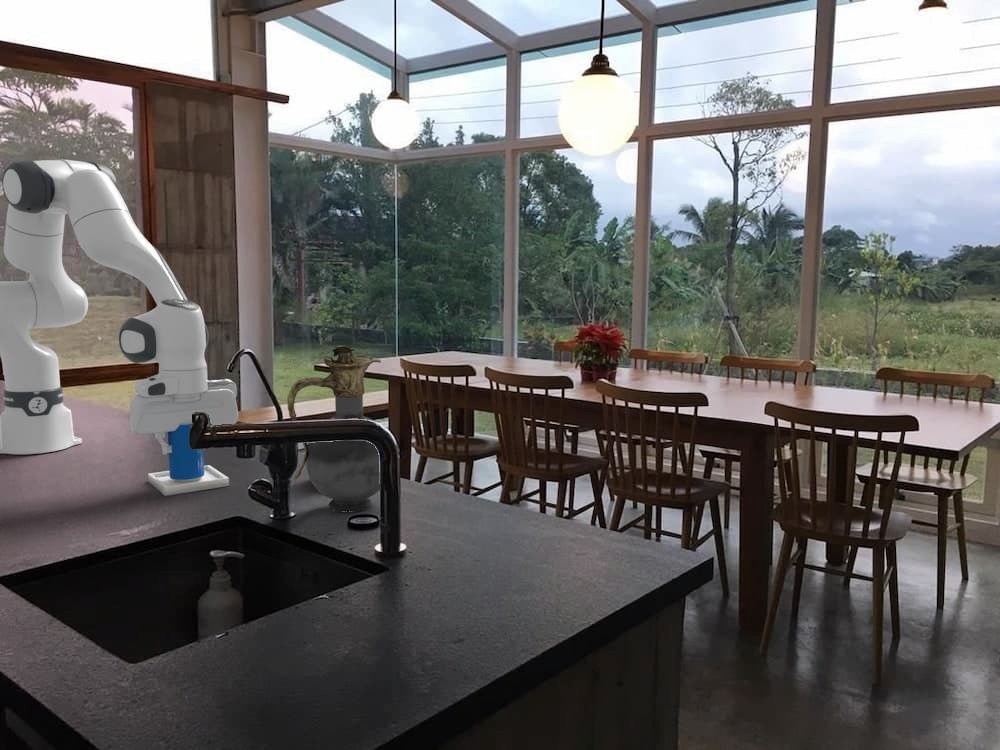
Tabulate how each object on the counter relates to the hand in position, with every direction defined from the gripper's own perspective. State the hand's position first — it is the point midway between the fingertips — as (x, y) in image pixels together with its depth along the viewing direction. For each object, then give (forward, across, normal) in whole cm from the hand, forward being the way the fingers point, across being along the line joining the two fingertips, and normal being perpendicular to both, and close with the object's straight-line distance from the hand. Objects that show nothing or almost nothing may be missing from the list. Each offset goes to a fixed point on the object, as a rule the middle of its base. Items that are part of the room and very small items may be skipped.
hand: (186, 451), depth 161 cm
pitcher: (+7, -18, +32) cm, 37 cm away
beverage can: (+6, 0, 0) cm, 6 cm away
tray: (+7, 0, 0) cm, 7 cm away
